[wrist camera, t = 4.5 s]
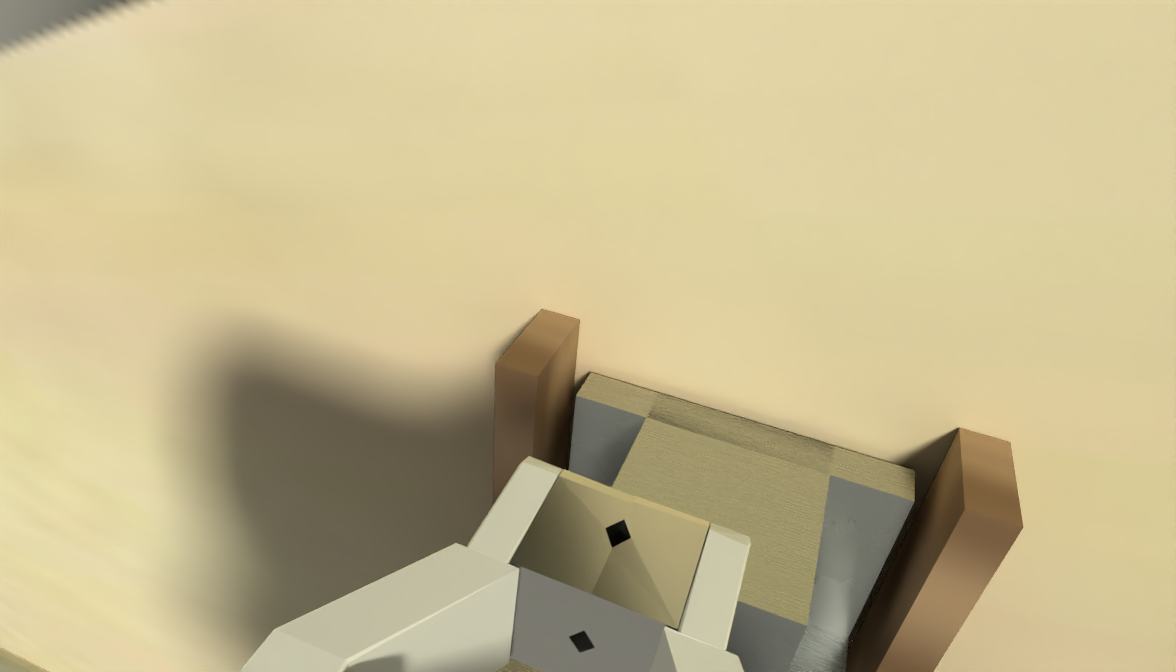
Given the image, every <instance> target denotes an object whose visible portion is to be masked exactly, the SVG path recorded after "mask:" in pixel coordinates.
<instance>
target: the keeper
mask: <svg viewBox="0 0 1176 672" xmlns="http://www.w3.org/2000/svg"><path fill="white" fill-rule="evenodd" d="M569 471H571V472H573V473H576V474H578V475H581V476H583V477H586V478H588V479H591V480H593V481H596V482H599V483H601V484H604V485H606V486H609V487H611V488H614V489H616V490H619V491H621V492H624V493H627V494H629V495H632V496H634V497H636V496H637V497H640V498H643V499H646V500H649V501H651V502H654V503H657V504H660V505H663V506H666V507H668V508H671V509H674V510H677V511H680V512H683V513H686V514H688V515H691V516H694V517H697V518H700V519H703V520H706V521H708V522H710V523H709V526H710V524H711V523H713V524H716V525H719V526H721V527H724V528H727V529H730V530H732V531H735V532H738V533H741V534H744V535H746V536H749V537H750V543H751V545H750V549H749V553H748V558H747V562H746V566H745V570H744V575H743V579H742V583H741V588H740V592H739V596H738V601H737V605H736V609H735V614H734V618H733V622H732V626H731V631H730V635H729V639H728V644H727V648H726V651H728V652H730V653H732V654H735V655H737V656H738V657H739V659H740V662H741V665H742V667H743V670H744V672H845V670H846V660H847V649H848V639H849V635H850V633H851V631H852V629H853V627H854V625H855V623H856V621H857V619H858V617H859V615H860V613H861V611H862V609H863V606H864V604H865V602H866V600H867V598H868V596H869V594H870V592H871V590H872V588H873V586H874V584H875V582H876V580H877V578H878V576H879V574H880V571H881V569H882V567H883V565H884V563H885V561H886V559H887V557H888V555H889V553H890V551H891V549H892V547H893V545H894V543H895V541H896V539H897V537H898V534H899V532H900V530H901V528H902V526H903V524H904V522H905V520H906V518H907V516H908V514H909V512H910V510H911V508H912V506H913V504H914V502H915V470H912V469H909V468H905V467H902V466H899V465H895V464H892V463H889V462H885V461H882V460H879V459H876V458H872V457H869V456H866V455H862V454H859V453H856V452H852V451H849V450H846V449H843V448H839V447H836V446H833V445H829V444H826V443H823V442H819V441H816V440H813V439H809V438H806V437H803V436H800V435H796V434H793V433H790V432H786V431H783V430H780V429H776V428H773V427H770V426H767V425H763V424H760V423H757V422H753V421H750V420H747V419H743V418H740V417H737V416H733V415H730V414H727V413H724V412H720V411H717V410H714V409H710V408H707V407H704V406H700V405H697V404H694V403H691V402H687V401H684V400H681V399H677V398H674V397H671V396H667V395H664V394H661V393H657V392H654V391H651V390H648V389H644V388H641V387H638V386H634V385H631V384H628V383H624V382H621V381H618V380H614V379H611V378H608V377H605V376H601V375H598V374H595V373H590V375H589V376H588V378H587V379H586V381H585V382H584V384H583V385H582V387H581V389H580V390H579V392H578V393H577V395H576V401H575V411H574V421H573V431H572V441H571V451H570V462H569ZM496 672H544V671H541V670H539V669H536V668H534V667H531V666H529V665H526V664H524V663H521V662H519V661H516V660H514V659H511V658H509V663H508V664H506V665H505V666H503V667H502V668H501V669H499V670H498V671H496Z"/></svg>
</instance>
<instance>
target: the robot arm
mask: <svg viewBox="0 0 1176 672" xmlns="http://www.w3.org/2000/svg"><path fill="white" fill-rule="evenodd" d="M709 523H710V522H708V521H706V520H703V519H700V518H697V517H694V516H691V515H688V514H686V513H683V512H680V511H677V510H674V509H671V508H668V507H666V506H663V505H660V504H657V503H654V502H651V501H649V500H646V499H643V498H640V497H637V496H636V497H634V496H632V495H629V494H627V493H624V492H621V491H619V490H616V489H614V488H611V487H609V486H606V485H604V484H601V483H599V482H596V481H593V480H591V479H588V478H586V477H583V476H581V475H578V474H576V473H573V472H571V471H568V470H565V469H561V468H559V467H556V466H554V465H551V464H548V463H546V462H543V461H541V460H538V459H536V458H533V457H530V456H528V457H527V458H526V459H525V460H524V461H522V462H521V463H520V464H519V466H518V467H517V469H516V471H515V472H514V474H513V475H512V477H511V478H510V480H509V481H508V483H507V485H506V486H505V488H504V489H503V491H502V492H501V494H500V495H499V497H498V499H497V500H496V502H495V503H494V505H493V506H492V508H491V509H490V511H489V512H488V514H487V516H486V517H485V519H484V520H483V522H482V523H481V525H480V526H479V528H478V530H477V531H476V533H475V534H474V536H473V537H472V539H471V540H470V542H469V543H468V545H467V547H466V546H463V545H461V544H458V543H454V544H452V545H450V546H448V547H446V548H444V549H442V550H440V551H437V552H435V553H433V554H431V555H429V556H427V557H425V558H423V559H421V560H418V561H416V562H414V563H412V564H410V565H408V566H406V567H404V568H402V569H400V570H397V571H395V572H393V573H391V574H389V575H387V576H385V577H383V578H381V579H378V580H376V581H374V582H372V583H370V584H368V585H366V586H364V587H362V588H360V589H357V590H355V591H353V592H351V593H349V594H347V595H345V596H343V597H341V598H338V599H336V600H334V601H332V602H330V603H328V604H326V605H324V606H322V607H320V608H317V609H315V610H313V611H311V612H309V613H307V614H305V615H303V616H301V617H298V618H296V619H294V620H292V621H290V622H288V623H286V624H284V625H282V626H280V627H277V628H275V629H274V630H273V631H272V632H271V634H270V635H269V636H268V637H267V638H266V640H265V641H264V642H263V643H262V645H261V646H260V647H259V648H258V649H257V651H256V652H255V653H254V654H253V655H252V657H251V658H250V659H249V660H248V661H247V663H246V664H245V665H244V666H243V667H242V669H241V670H240V671H239V672H496V671H498V670H499V669H501V668H502V667H503V666H505V665H506V664H508V663H509V658H511V659H514V660H516V661H519V662H521V663H524V664H526V665H529V666H531V667H534V668H536V669H539V670H541V671H544V672H744V670H743V667H742V665H741V662H740V659H739V657H738V656H737V655H735V654H732V653H730V652H728V651H726V648H727V644H728V639H729V635H730V631H731V626H732V622H733V618H734V614H735V609H736V605H737V601H738V596H739V592H740V588H741V583H742V579H743V575H744V570H745V566H746V562H747V558H748V553H749V549H750V545H751V543H750V537H749V536H746V535H744V534H741V533H738V532H735V531H732V530H730V529H727V528H724V527H721V526H719V525H716V524H713V523H711V524H710V526H709ZM0 672H48V671H47V670H45V669H43V668H41V667H39V666H37V665H35V664H33V663H31V662H29V661H27V660H25V659H23V658H21V657H19V656H17V655H15V654H13V653H11V652H9V651H7V650H5V649H4V648H2V647H0Z"/></svg>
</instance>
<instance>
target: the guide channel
mask: <svg viewBox="0 0 1176 672" xmlns="http://www.w3.org/2000/svg"><path fill="white" fill-rule="evenodd" d="M579 325H580V320H579V319H575V318H572V317H568V316H565V315H561V314H558V313H554V312H551V311H547V310H543V309H542V310H541V311H540V312H539V313H538V314H537V316H536V317H535V318H534V319H533V320H532V321H531V323H530V324H529V325H528V326H527V327H526V328H525V330H524V331H523V332H522V333H521V334H520V335H519V337H518V338H517V339H516V340H515V341H514V342H513V344H512V345H511V346H510V347H509V348H508V349H507V351H506V352H505V353H504V354H503V355H502V356H501V358H500V359H499V360H498V361H497V362H496V364H495V414H494V471H493V505H494V503H495V502H496V500H497V499H498V497H499V495H500V494H501V492H502V491H503V489H504V488H505V486H506V485H507V483H508V481H509V480H510V478H511V477H512V475H513V474H514V472H515V471H516V469H517V467H518V466H519V464H520V463H521V462H522V461H524V460H525V459H526V458H527V457H528V456H530V457H533V458H536V459H538V460H541V461H543V462H546V463H548V464H551V465H554V466H556V467H559V468H561V469H565V470H566V461H567V451H568V440H569V430H570V419H571V409H572V398H573V388H574V377H575V367H576V356H577V346H578V335H579ZM1022 529H1023V522H1022V516H1021V509H1020V503H1019V496H1018V490H1017V483H1016V477H1015V470H1014V463H1013V457H1012V450H1011V444H1010V442H1007V441H1004V440H1000V439H997V438H993V437H990V436H986V435H983V434H979V433H976V432H972V431H969V430H965V429H962V428H959V430H958V432H957V434H956V436H955V438H954V440H953V442H952V444H951V446H950V448H949V450H948V452H947V454H946V456H945V458H944V460H943V462H942V464H941V466H940V468H939V470H938V472H937V474H936V476H935V478H934V480H933V482H932V484H931V487H930V489H929V491H928V493H927V495H926V497H925V499H924V501H923V503H922V505H921V507H920V509H919V511H918V513H917V515H916V517H915V519H914V521H913V523H912V525H911V527H910V529H909V531H908V533H907V535H906V537H905V539H904V541H903V543H902V545H901V547H900V549H899V551H898V553H897V555H896V557H895V559H894V561H893V563H892V565H891V567H890V569H889V571H888V573H887V575H886V577H885V579H884V581H883V583H882V585H881V587H880V589H879V591H878V593H877V596H876V598H875V600H874V602H873V604H872V606H871V608H870V610H869V612H868V614H867V616H866V618H865V620H864V622H863V624H862V626H861V628H860V630H859V632H858V634H857V636H856V638H855V640H854V642H853V644H852V646H851V648H850V650H849V652H848V654H847V660H846V670H845V672H933V671H934V670H935V668H936V666H937V665H938V663H939V662H940V660H941V658H942V657H943V655H944V654H945V652H946V650H947V649H948V647H949V646H950V644H951V642H952V641H953V639H954V638H955V636H956V634H957V633H958V631H959V630H960V628H961V626H962V625H963V623H964V622H965V620H966V618H967V617H968V615H969V614H970V612H971V610H972V609H973V607H974V606H975V604H976V602H977V601H978V599H979V597H980V596H981V594H982V593H983V591H984V589H985V588H986V586H987V585H988V583H989V581H990V580H991V578H992V577H993V575H994V573H995V572H996V570H997V569H998V567H999V565H1000V564H1001V562H1002V561H1003V559H1004V557H1005V556H1006V554H1007V553H1008V551H1009V549H1010V548H1011V546H1012V545H1013V543H1014V541H1015V540H1016V538H1017V537H1018V535H1019V533H1020V532H1021V530H1022Z"/></svg>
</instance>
